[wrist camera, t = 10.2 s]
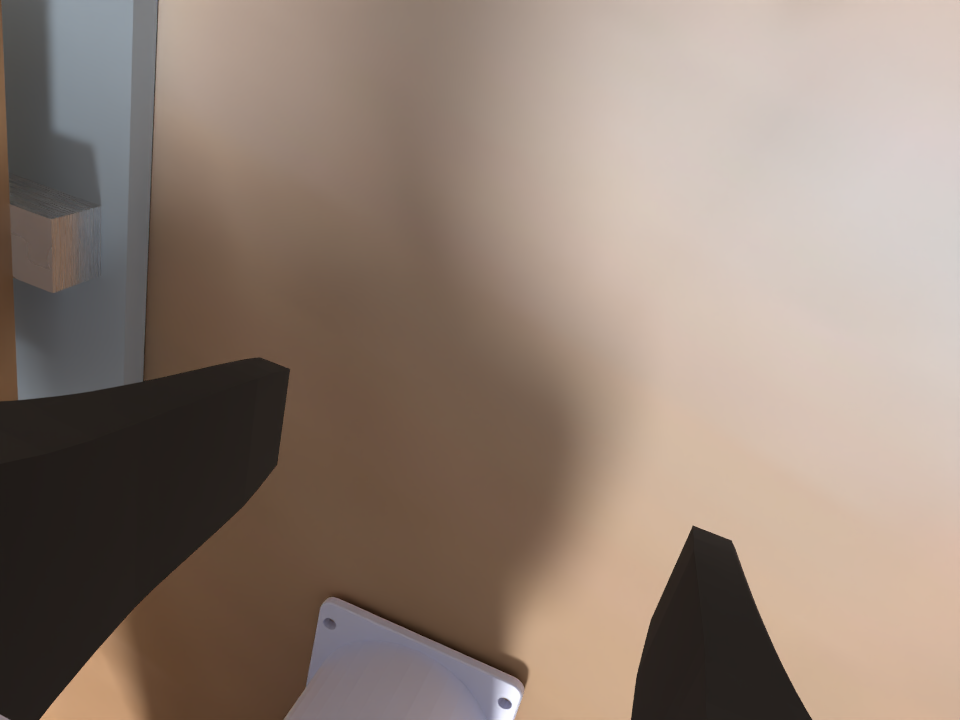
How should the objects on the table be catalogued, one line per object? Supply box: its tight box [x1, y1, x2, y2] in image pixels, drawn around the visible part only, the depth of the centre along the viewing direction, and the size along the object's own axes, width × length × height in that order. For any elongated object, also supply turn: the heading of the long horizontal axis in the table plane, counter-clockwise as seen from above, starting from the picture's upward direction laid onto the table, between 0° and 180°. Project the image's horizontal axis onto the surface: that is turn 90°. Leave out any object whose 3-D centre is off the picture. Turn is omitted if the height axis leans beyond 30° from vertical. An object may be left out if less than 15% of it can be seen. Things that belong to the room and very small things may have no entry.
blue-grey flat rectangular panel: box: [1, 0, 158, 400], centre depth 27 cm, size 16×9×1 cm, turn 166°
